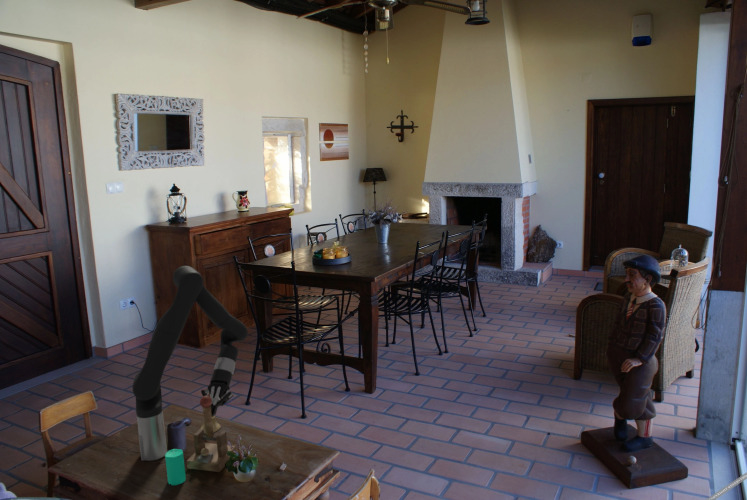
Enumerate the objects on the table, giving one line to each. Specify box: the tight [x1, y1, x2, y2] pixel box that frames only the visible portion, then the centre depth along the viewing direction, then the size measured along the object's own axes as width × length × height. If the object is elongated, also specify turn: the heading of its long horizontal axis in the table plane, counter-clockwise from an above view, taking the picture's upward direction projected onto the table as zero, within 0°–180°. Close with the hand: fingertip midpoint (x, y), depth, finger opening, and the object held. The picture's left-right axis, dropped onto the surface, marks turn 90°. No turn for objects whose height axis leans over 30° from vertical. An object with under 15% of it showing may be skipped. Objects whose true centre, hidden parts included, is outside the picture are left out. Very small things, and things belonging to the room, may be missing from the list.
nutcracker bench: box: [186, 429, 237, 473], centre depth 215 cm, size 13×13×11 cm
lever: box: [199, 395, 217, 442], centre depth 212 cm, size 6×4×18 cm
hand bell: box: [200, 393, 222, 434], centre depth 239 cm, size 8×8×16 cm
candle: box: [164, 448, 187, 486], centre depth 203 cm, size 6×6×12 cm
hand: (210, 416), depth 214 cm, fingers closed
